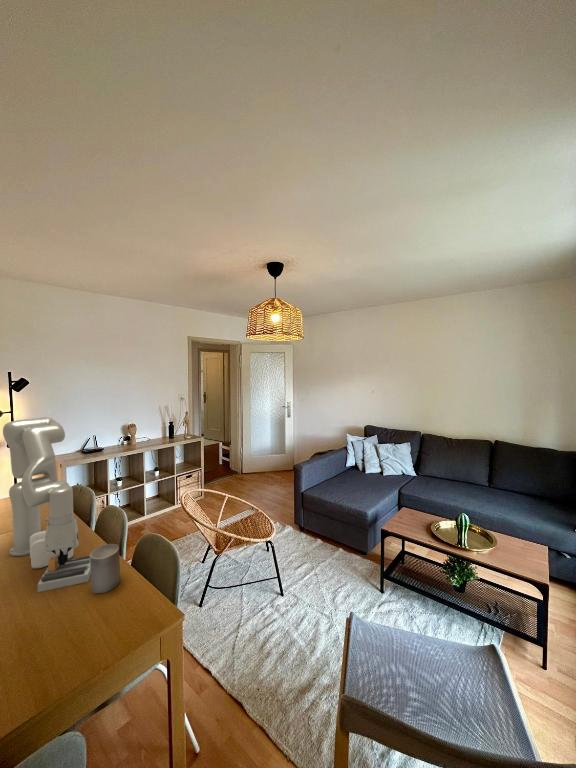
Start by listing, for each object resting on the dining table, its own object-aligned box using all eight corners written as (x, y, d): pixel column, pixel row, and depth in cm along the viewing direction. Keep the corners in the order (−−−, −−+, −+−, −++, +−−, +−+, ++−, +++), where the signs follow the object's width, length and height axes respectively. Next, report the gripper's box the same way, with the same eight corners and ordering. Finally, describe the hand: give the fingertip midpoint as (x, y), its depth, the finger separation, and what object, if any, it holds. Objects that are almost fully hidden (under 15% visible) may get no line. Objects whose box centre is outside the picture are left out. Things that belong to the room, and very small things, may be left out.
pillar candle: (116, 572, 124) (114, 537, 124) (123, 585, 117) (122, 547, 117) (88, 584, 118) (86, 547, 117) (94, 598, 111) (92, 558, 110)
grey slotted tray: (49, 572, 124) (49, 561, 124) (94, 563, 130) (94, 552, 130) (37, 592, 113) (37, 580, 113) (88, 581, 119) (87, 570, 119)
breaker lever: (50, 570, 120) (49, 556, 120) (59, 569, 122) (58, 555, 121) (47, 575, 118) (46, 560, 118) (56, 573, 119) (56, 559, 119)
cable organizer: (28, 572, 124) (27, 544, 124) (30, 559, 133) (29, 533, 132) (73, 558, 133) (73, 533, 133) (72, 547, 142) (72, 523, 141)
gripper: (34, 526, 114) (35, 573, 115) (81, 519, 119) (82, 564, 120) (42, 517, 121) (43, 561, 122) (86, 510, 126) (87, 553, 127)
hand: (62, 563), depth 121 cm, fingers closed
